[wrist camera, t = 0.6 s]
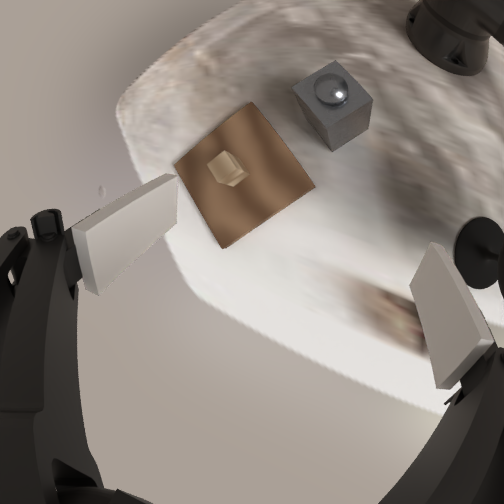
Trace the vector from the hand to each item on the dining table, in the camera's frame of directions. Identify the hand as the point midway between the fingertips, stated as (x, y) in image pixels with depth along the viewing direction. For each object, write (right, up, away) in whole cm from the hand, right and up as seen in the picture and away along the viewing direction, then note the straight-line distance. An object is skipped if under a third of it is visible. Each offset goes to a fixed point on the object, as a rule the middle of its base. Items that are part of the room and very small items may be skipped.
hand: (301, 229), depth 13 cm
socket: (+10, +17, +21) cm, 29 cm away
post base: (-4, +10, +27) cm, 29 cm away
